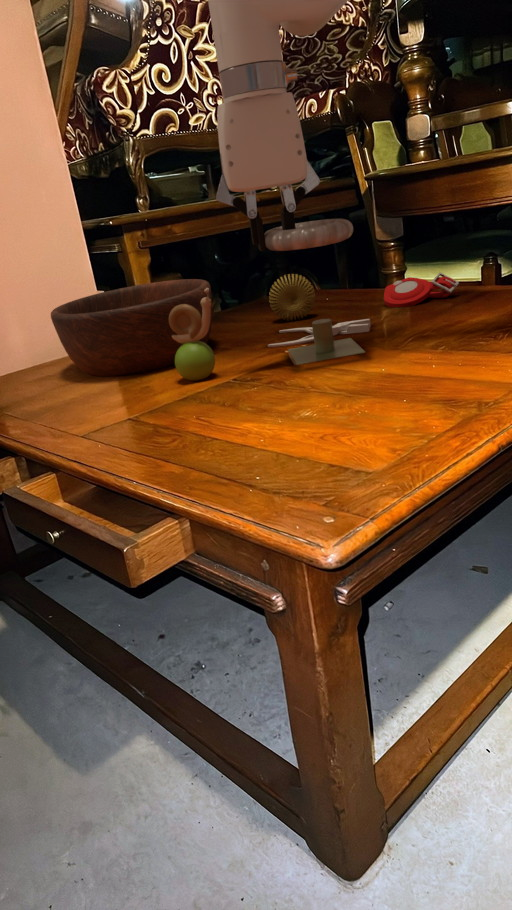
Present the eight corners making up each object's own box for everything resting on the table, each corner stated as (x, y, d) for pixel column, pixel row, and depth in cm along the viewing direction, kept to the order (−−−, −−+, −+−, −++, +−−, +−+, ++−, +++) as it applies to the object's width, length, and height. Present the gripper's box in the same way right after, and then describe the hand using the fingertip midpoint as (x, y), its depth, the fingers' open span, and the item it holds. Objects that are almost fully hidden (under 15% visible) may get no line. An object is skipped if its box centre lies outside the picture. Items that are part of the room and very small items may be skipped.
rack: (351, 346, 98) (347, 309, 96) (366, 360, 90) (362, 321, 88) (289, 357, 98) (283, 321, 96) (298, 373, 89) (292, 334, 87)
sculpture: (272, 326, 119) (265, 279, 116) (272, 321, 123) (265, 276, 120) (319, 319, 118) (312, 271, 115) (317, 314, 122) (311, 268, 119)
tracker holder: (392, 305, 114) (371, 283, 122) (398, 327, 116) (377, 305, 124) (461, 274, 113) (435, 255, 121) (465, 298, 116) (439, 277, 124)
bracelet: (342, 234, 93) (340, 215, 92) (362, 240, 83) (360, 219, 82) (260, 247, 93) (258, 228, 92) (270, 255, 83) (267, 234, 82)
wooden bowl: (62, 395, 98) (43, 324, 95) (70, 359, 121) (54, 300, 118) (233, 359, 102) (221, 289, 98) (209, 330, 125) (198, 272, 121)
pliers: (279, 324, 113) (371, 314, 109) (280, 334, 113) (372, 324, 109) (266, 339, 104) (367, 329, 100) (268, 350, 104) (368, 339, 100)
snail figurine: (220, 383, 91) (203, 291, 86) (174, 388, 92) (155, 298, 88) (229, 371, 96) (213, 284, 91) (185, 376, 97) (167, 290, 93)
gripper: (316, 79, 85) (332, 235, 91) (184, 100, 84) (211, 255, 91) (327, 70, 78) (344, 239, 85) (184, 93, 77) (213, 261, 84)
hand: (275, 246), depth 88 cm, fingers closed on bracelet, 2 cm apart
